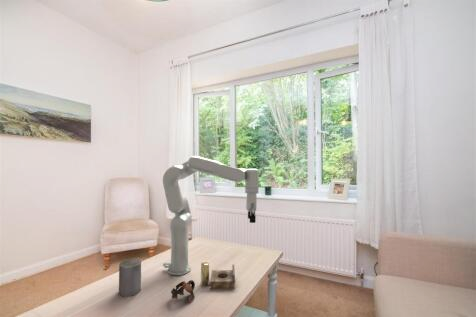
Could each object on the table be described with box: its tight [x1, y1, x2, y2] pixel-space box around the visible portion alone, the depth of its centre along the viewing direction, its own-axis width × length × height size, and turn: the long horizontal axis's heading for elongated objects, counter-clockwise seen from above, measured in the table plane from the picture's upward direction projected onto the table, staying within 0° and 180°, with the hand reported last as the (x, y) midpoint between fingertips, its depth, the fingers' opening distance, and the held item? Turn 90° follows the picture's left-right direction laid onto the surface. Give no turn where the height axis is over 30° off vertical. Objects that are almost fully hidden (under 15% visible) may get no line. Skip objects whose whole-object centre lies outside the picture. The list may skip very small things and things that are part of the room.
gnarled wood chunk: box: [170, 279, 196, 304], centre depth 107 cm, size 12×10×8 cm
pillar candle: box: [118, 258, 142, 298], centre depth 112 cm, size 10×10×15 cm
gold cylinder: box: [200, 261, 210, 287], centre depth 119 cm, size 4×4×10 cm
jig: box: [209, 264, 236, 290], centre depth 121 cm, size 12×12×6 cm
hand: (251, 220), depth 134 cm, fingers open, 9 cm apart
